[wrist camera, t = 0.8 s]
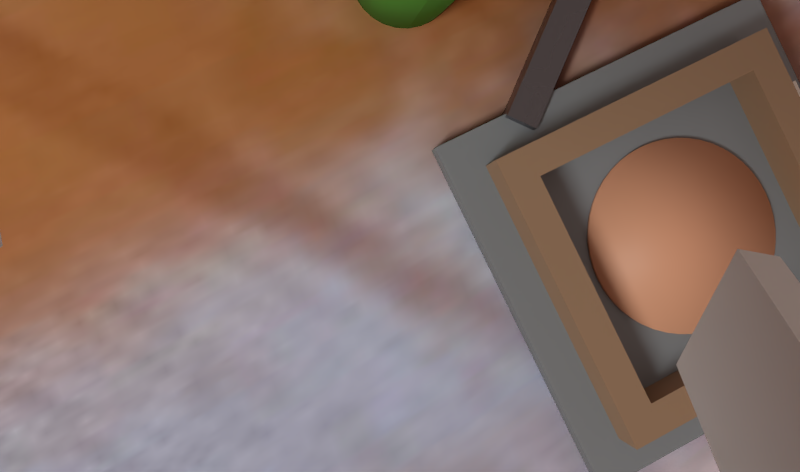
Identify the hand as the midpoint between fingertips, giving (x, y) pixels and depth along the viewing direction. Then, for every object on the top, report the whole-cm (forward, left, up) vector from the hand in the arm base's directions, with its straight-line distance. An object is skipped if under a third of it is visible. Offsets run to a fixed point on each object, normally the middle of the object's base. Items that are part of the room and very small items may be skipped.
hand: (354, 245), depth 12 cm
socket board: (+7, +16, -22) cm, 28 cm away
